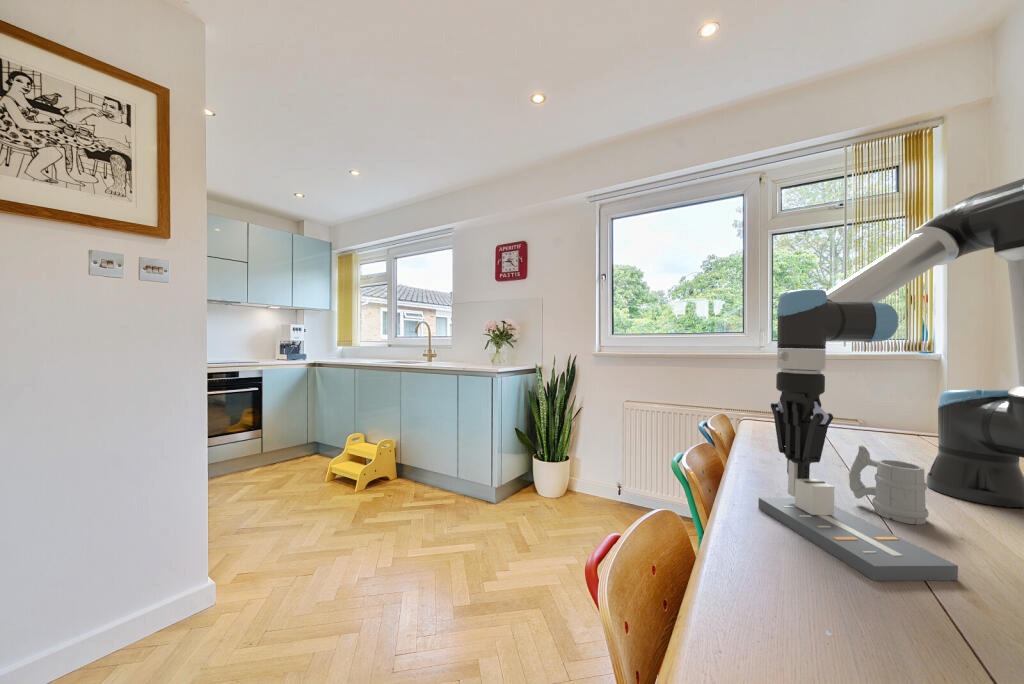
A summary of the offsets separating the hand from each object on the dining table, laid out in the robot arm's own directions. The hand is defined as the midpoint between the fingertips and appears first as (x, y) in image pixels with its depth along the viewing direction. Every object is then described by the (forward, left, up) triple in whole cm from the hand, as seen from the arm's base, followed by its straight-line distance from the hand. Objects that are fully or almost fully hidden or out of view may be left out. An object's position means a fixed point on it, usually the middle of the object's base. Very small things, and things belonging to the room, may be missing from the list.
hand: (797, 495), depth 76 cm
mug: (-18, 0, -4) cm, 18 cm away
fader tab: (0, +4, -1) cm, 4 cm away
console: (0, +10, -3) cm, 10 cm away
